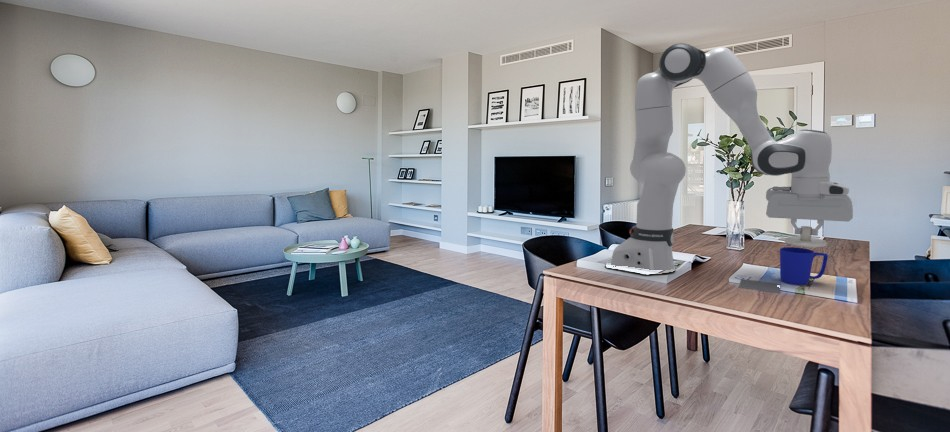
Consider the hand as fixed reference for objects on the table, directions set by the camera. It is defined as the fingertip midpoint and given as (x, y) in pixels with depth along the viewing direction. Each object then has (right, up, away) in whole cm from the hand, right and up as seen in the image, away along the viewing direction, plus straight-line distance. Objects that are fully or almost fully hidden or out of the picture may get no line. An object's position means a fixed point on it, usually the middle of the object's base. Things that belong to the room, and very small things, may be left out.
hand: (805, 234), depth 134 cm
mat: (-14, -15, 0) cm, 20 cm away
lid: (0, -3, 0) cm, 3 cm away
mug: (0, -15, +2) cm, 15 cm away
